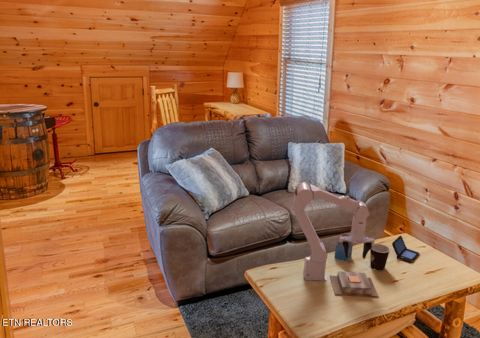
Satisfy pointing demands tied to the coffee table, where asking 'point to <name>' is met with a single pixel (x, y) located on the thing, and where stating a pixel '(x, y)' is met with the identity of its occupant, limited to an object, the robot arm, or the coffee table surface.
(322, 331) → the coffee table surface
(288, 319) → the coffee table surface
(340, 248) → the perfume bottle
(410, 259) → the handheld game console
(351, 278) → the button
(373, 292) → the button board
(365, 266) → the coffee table surface
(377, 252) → the coffee mug
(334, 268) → the coffee table surface
